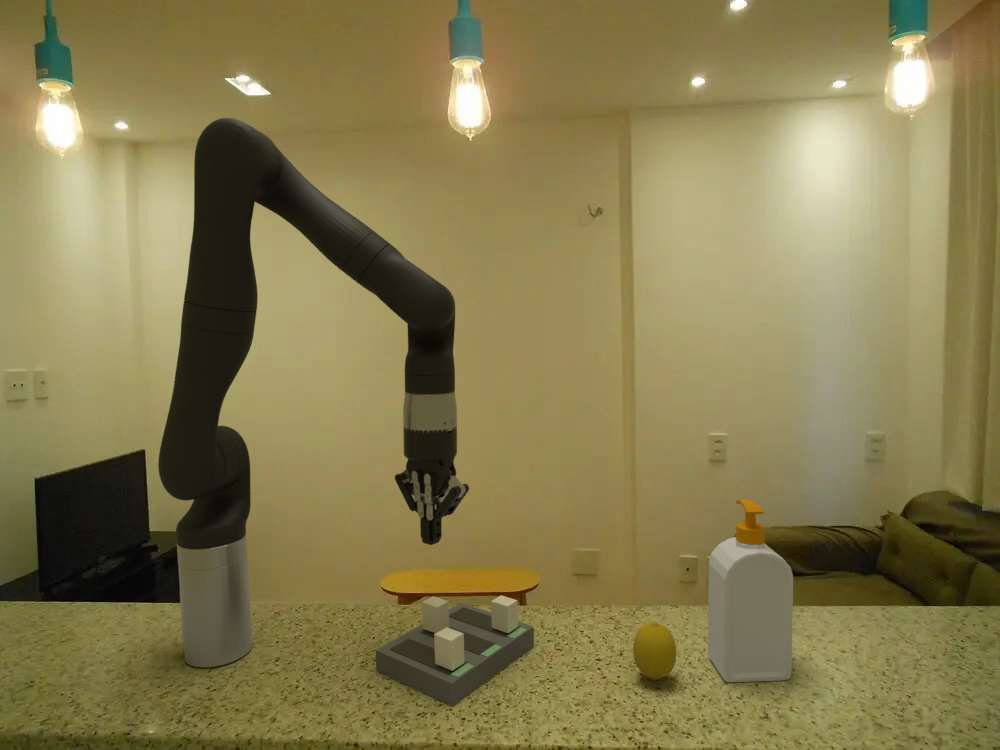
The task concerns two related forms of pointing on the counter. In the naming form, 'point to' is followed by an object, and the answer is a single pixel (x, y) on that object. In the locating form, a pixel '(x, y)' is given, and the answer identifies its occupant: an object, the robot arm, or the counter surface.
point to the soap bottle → (750, 606)
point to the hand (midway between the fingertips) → (431, 542)
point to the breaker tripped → (435, 614)
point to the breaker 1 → (449, 648)
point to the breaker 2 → (504, 614)
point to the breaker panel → (482, 655)
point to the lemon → (654, 650)
